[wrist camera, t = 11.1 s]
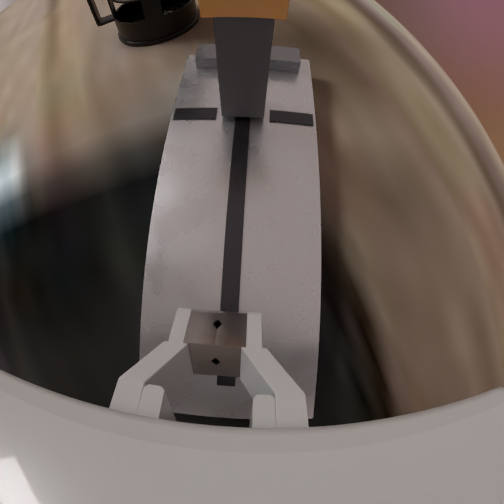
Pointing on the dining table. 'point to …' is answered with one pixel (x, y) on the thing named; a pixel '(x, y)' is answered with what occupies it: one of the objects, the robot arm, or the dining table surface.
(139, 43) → the french press
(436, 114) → the dining table surface
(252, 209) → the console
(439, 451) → the robot arm
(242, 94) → the fader tab
